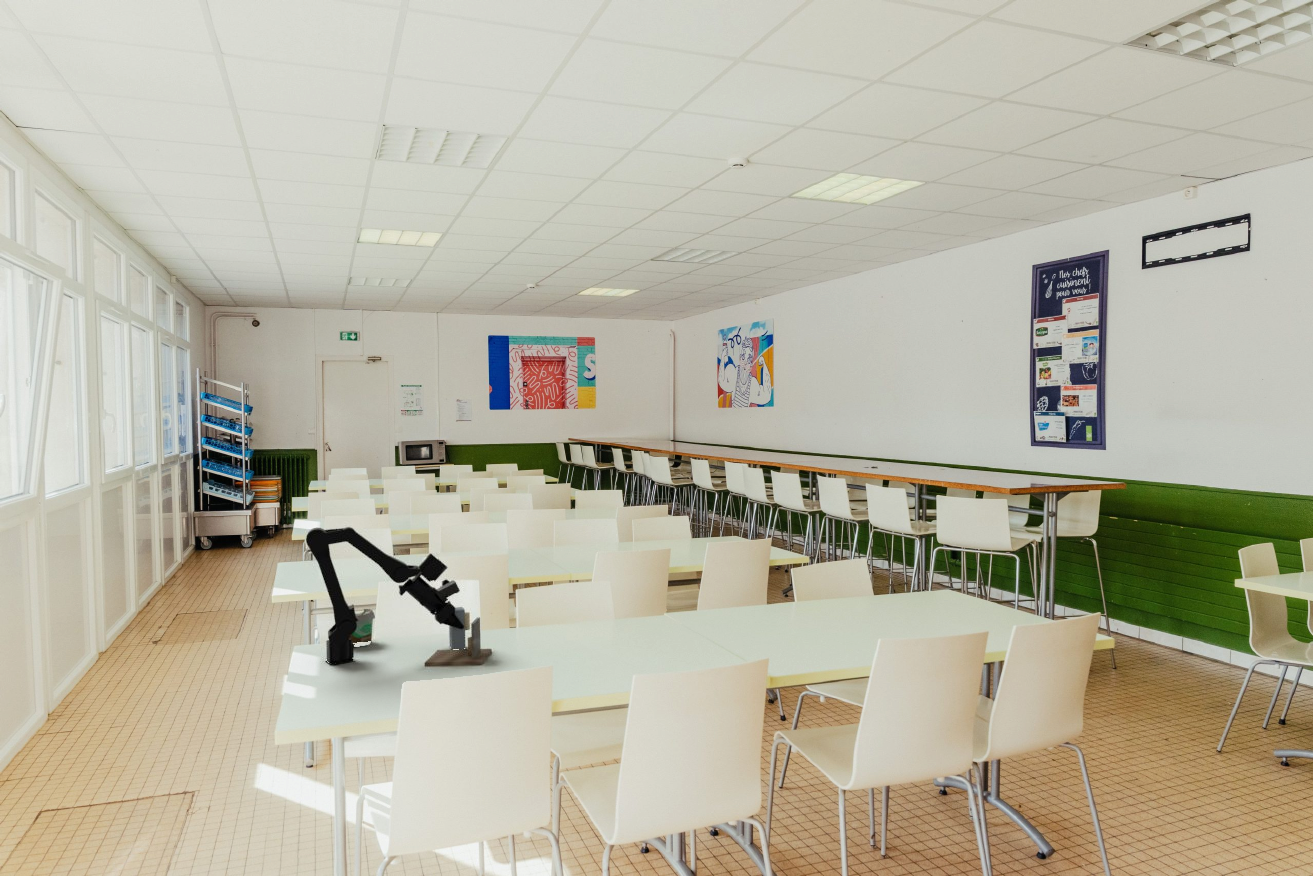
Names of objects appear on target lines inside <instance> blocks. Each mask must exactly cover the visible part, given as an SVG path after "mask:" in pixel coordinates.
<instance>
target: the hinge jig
mask: <svg viewBox="0 0 1313 876" xmlns="http://www.w3.org/2000/svg"><path fill="white" fill-rule="evenodd" d="M470 624H471V625H470V629H471V630H470V631H471V633H470V634H471V636H469V637H467V648H466V649H459V650H451V649H437V650H436V651H435V652H433V654H432V655H431V656H429V658H428V659H427V660H426V661H424V667H438V666H439V667H440V666H441V667H442V666H443V667H444V666H447V667H448V666H450V667H451V666H478V665H479V666H481V665H483V664H484V662H485V661H486V660H487V659H488V657H489V656H490V655H491V654H492V648H481V644H482V643H481V617H476V618H475V619H474V620H473V621H472V622H470Z"/></svg>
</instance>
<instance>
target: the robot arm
mask: <svg viewBox="0 0 1313 876" xmlns="http://www.w3.org/2000/svg"><path fill="white" fill-rule="evenodd" d="M345 542H346V543H348V544H349V545H351V546H352V547H354V548H355V549H356V550H358V551H359V552H360V553H362V554H363V555H364V556H366V557H367V558H368V559H370V560H372V562H374V563H375V564H377V565H378V566H379V567H380V568H381V570H383V572H384V573H385V574H386V575H387V576H388V577H389V578H390V579H391V581H393V582H394V583H397V584H399V585H398V590H399V591H398V593H399V595H400V597H401V596H403V595H404V594H405V593H407V594H409V595H410V596H411V597H412V598H413V599H415V600H416V601H417V602H418V603H419V605H421V606H422V607H424V608H425V609H426V610H427V611H429V612H430V614H431V615H433V616H434V619H435V621H436V622H437V623H439V625H442V624H443V625H446V626H448V627H449V626H452V627H456V628H459V629H463V628H464V625H463V624H462V623H461V621H460V620H459V619H458V618H457V616H456V615H455V608H456V606H454V604H452V603H451V601H450V600H449V597H451V596H453V595H454V594H457V593H460V588H459V586H458V584H457V582H456V581H455V580H454V579H453V580H448V579H444V580H442V581H441V586H439V587H438V588H436V587H434V586H432V585H430V584H429V583H430V582H433V581H434V582H436V581H437V580H438V579H439V578H440V577H441V575H442V574H443V573H444V572H445V571H446V570H447V569H448V568H449V567H448V565H446V564H445V563H444V562H442V561H441V560H440V559H439V558H437V557H436V556H435V555H434V554H433V553H431V552H430V553H429V554H428V555H426V557H425V559H424V560H423V561H422V562H421V563H420V564H419V565H415V564H414V565H413V564H412V565H411V564H407V563H405V562H403V561H402V560H400V559H397V558H396V557H394V556H391V555H389V554H388V553H385V552H384V551H382V550H381V549H380V548H378V547H377V546H376V545H375V544H373V543H372V542H371V541H369V540H368V539H366V537H364V536H363V535H361V534H360V533H358V532H357V531H356V530H355V529H354V528H353V527H351V526H346V527H342V528H330V529H324V528H321V527H313V528H311V529H310V530H309V531H308V532H307V534H306V536H305V543H306V545H307V546H308V548H309V551H310V552H311V553H312V555H313V557H314V558H315V560H316V562H317V564H318V567H319V570H320V573H321V576H322V579H323V581H324V584H325V587H326V591H327V593H328V597H329V599H330V602H331V605H332V610H333V611H332V612H333V616H334V617H333V618H334V624H333V626H332V627H331V628H329V629H328V631H327V635H328V636H327V640H326V642H325V644H326V659H327V661H328V662H329V663H330V664H334V665H336V664H335V663H340V664H342V663H341V662H346V663H348V662H347V661H352V662H354V661H355V658H354V656H355V654H354V653H355V650H354V649H355V648H354V644H353V643H352V639H351V638H349V637H350V635H351V634H353V633H354V632H355V630H356V628H357V622H356V621H359V620H358V616H357V615H356V614H357V613H356V612H355V605H354V604H351V605H349V604H348V603H347V601H346V599H345V596H344V593H343V590H342V587H341V584H340V581H339V578H338V575H337V572H336V569H335V566H334V564H333V560H332V557H331V552H330V545H334V544H339V543H345ZM422 577H423V578H424V579H425V580H424V579H423V578H422ZM426 580H427V581H428V582H427V581H426ZM402 583H404V584H402ZM448 600H449V601H448ZM353 660H354V661H353ZM329 663H328V664H329ZM330 664H329V665H330Z"/></svg>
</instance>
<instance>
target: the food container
mask: <svg viewBox="0 0 1313 876" xmlns="http://www.w3.org/2000/svg"><path fill="white" fill-rule="evenodd" d="M355 614H356V615H357V616H358V620H359V621H356V622H357V628H356V630H355V632H354V633H353V634H351V635H350V637H349V638H351V639H352V643H357V642H368V641H371V642H372V638H373V622H374V621H373V620H374V619H375V618H376V615H375V612H374V610H373V609H370V608H363V612H360V613H355ZM354 645H355V644H354Z"/></svg>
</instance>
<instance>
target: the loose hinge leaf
mask: <svg viewBox="0 0 1313 876" xmlns="http://www.w3.org/2000/svg"><path fill="white" fill-rule="evenodd" d="M455 615H456V616H457V618H458V619H459V620H460V621H461V623H462V624H463V625H464V628H463V629H459V628H456V627H452V626H449V625H448V627H449V628H448V629H449V631H448V633H449V634H448V635H449V636H448V637H449V648H450V647H451V649H452V650H453V649H464V648H466V631H471V630H470V629H471V625H470V624H471V620H470V619H471V618H470V612H467V611H466V610H465V609H464V607H462V606H457V607H456V606H455ZM451 649H450V650H451Z"/></svg>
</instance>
